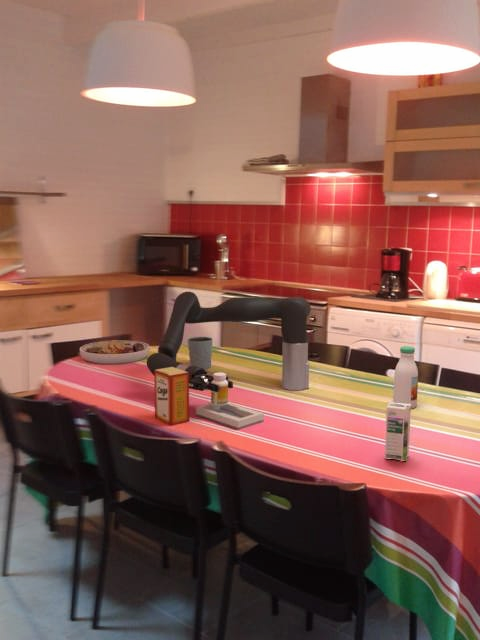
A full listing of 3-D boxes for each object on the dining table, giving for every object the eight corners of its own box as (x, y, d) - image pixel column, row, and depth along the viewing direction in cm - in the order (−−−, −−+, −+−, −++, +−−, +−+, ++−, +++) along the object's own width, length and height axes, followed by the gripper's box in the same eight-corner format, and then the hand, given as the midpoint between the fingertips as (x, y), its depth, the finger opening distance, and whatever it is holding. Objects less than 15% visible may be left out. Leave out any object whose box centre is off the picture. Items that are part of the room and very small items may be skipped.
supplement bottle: (230, 402, 215) (231, 373, 213) (223, 407, 210) (223, 377, 208) (215, 400, 217) (216, 371, 215) (208, 404, 212) (208, 374, 210)
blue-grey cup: (217, 366, 279) (217, 338, 277) (203, 371, 270) (202, 342, 268) (197, 363, 284) (197, 335, 282) (182, 368, 276) (182, 339, 274)
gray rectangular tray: (196, 415, 214) (195, 407, 214) (221, 408, 222) (221, 400, 221) (238, 429, 200) (238, 421, 200) (263, 421, 208) (263, 413, 208)
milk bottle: (403, 410, 220) (406, 350, 217) (388, 404, 227) (390, 346, 223) (421, 407, 223) (424, 348, 220) (405, 401, 230) (408, 344, 227)
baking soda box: (155, 418, 211) (154, 368, 209) (172, 414, 215) (172, 365, 212) (171, 425, 204) (170, 374, 201) (189, 421, 208) (188, 371, 205)
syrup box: (384, 459, 177) (386, 406, 175) (387, 452, 183) (389, 400, 180) (406, 462, 175) (408, 409, 173) (409, 455, 181) (411, 403, 178)
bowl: (65, 362, 287) (65, 344, 285) (105, 348, 314) (104, 332, 313) (126, 368, 276) (126, 350, 274) (161, 354, 303) (161, 337, 302)
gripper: (173, 368, 217) (208, 379, 205) (206, 362, 227) (241, 371, 215) (173, 391, 218) (208, 403, 206) (206, 383, 228) (241, 394, 216)
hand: (225, 386), depth 211 cm, fingers closed on supplement bottle, 5 cm apart
